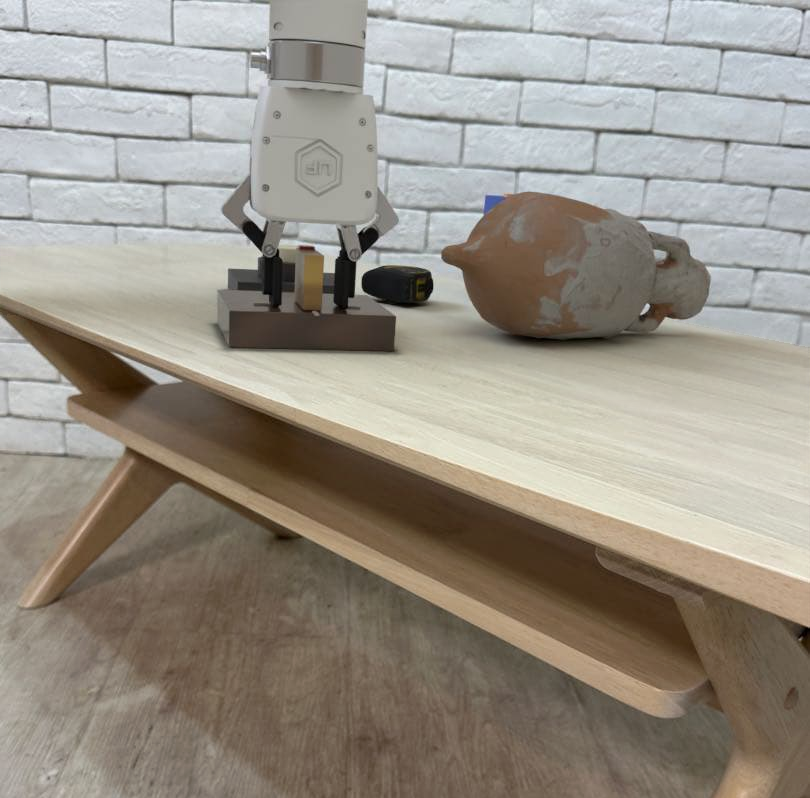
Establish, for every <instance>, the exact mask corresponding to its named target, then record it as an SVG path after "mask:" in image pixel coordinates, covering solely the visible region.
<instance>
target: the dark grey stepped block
mask: <svg viewBox="0 0 810 798" xmlns="http://www.w3.org/2000/svg"><path fill="white" fill-rule="evenodd" d="M334 276H335V272H323V293H322V294H334ZM227 290H241V291H262V256H260V257H258V258H257V269H254V268H253V269H248V268H230V267H229V268H228V269H227ZM282 292H293V293H295V263H292V262H283V269H282Z"/></svg>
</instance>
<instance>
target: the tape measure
mask: <svg viewBox="0 0 810 798" xmlns="http://www.w3.org/2000/svg"><path fill="white" fill-rule="evenodd" d="M360 283H361V284H360V285H361V289H362V291H363V293H365V295H368V296H371V297H374V298H377V299H380V300H383V301H385V302H386V303H387V304H390V305H394V304H395V305H396V304H397V303H402V304H412V303H423V302H426V301H428V300H429V299H430V297H431V295H432V293H433V292H434V279H433V277H432V272H431V271H430V270H429V269H427V268H424V267H418V266H411V265H394V264H393V265H390V264H389V265H381V266H378V267H376V268H373V269H370V270H367V271H365V272H364V273H363V274H362V276H361V282H360Z"/></svg>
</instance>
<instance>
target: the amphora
mask: <svg viewBox="0 0 810 798" xmlns="http://www.w3.org/2000/svg"><path fill="white" fill-rule="evenodd" d="M513 194H514V195H511V196H509V197H507V198H506V199H504V200H502V201H501V202H499V203H498V204H496V205H495V206H493V207H492V208H491V209H490V210H489V211H488V212H487V213H486V214H485V215H484V214H483V215H484V216H483V215H482V217H480V219H479V220H478V221H477V222H476V223H475V225H474V227H473V228H472V230H471V231H470V233H469V235H468V237H467V240H466V241H464V242H461V243H457V244H450V245H447V246H445V247H444V248H443V249H441V252H440V253H441V254H440V259H441V260H442V262H444V263H445V264H447V265H448V266H449V265H450V266H452V267H455V268H458V269H460V270H461V273H462V279H463V283H464V286H465V291H466V293H467V296H468V299H469V300H470V302H471V304H472V306H473V307H474V309H475V311H476V312H477V313H478V315H479V316H480V317H481V318H482V319H483V320H484V321H485V322H487V323H488V324H489V325H491V326H492V327H495V328H497V329H498V330H501V331H503V332H506V333H509V334H512V335H517V336H524V337H532V338H536V339H542V338H544V339H545V338H546V339H550V340H551V339H552V340H560V341H566V340H569V339H592V338H603V339H608V338H612V337H614V336H616V335H617V334H619V333H622V332H632V333H640V334H641V333H643V334H647V333H649V332H654V331H656V330H657V329H658V328H659V327H660V325H661V324H662V323H663V321H664V320H665V319H666V318H668V319H672V320H680V321H681V320H682V321H684V320H689V319H692V318H694V317H696V316H697V315H698V314H699V313H701V312H702V310H703V308H704V306H705V304H706V303H707V300H708V298H709V294H710V285H711V281H712V280H711V279H712V277H711V273H710V272H709V271H708V269H707V267H706V266H705V263H703V262H702V261H701V260H700V259H697V258H694V257H693V256H692V255H691V249H690V246H689V244H688V242H687V241H686V240H685V239H684V238H682V237H678V236H676V235H669V234H663V233H660V232H656V231H649V230H648V229H647V227H645V226H646V225H644V224H643V223H641V222H640V221H638V220H636V219H635V218H633V217H630V216H628V215H625V214H623V213H621V212H619V211H617V210H616V209H612V208H602V207H599V206H596V205H593V204H591V203H588V202H584V201H581V200H577V199H574V198H571V197H565V196H563V195H562V196H561V195H558V194H551V193H545V192H539V191H522V192H517V193H513ZM655 251H661V252H665V255H666V256H665V257H664V258H663V259H659V260H656V255H655ZM647 304H648V305H649V308H648V310H647V311H646V312H644V313H642V312H643V311H644V309H645V308H646V306H647Z"/></svg>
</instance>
